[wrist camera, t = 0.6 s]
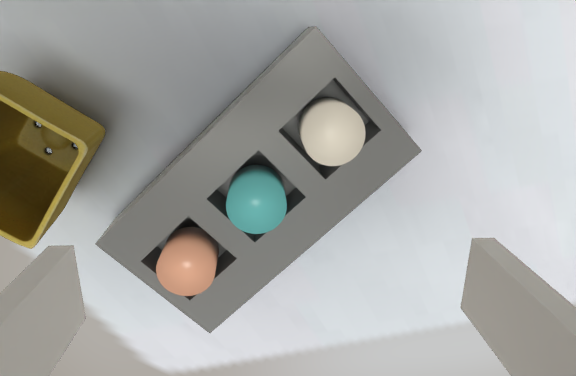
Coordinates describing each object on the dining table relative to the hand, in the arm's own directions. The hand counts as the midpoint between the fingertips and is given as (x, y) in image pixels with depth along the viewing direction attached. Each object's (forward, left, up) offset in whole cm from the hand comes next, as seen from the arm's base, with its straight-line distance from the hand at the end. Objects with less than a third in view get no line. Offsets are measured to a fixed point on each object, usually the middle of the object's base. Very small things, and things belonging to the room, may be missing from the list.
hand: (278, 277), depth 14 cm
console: (+2, -3, -23) cm, 23 cm away
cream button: (+2, +4, -20) cm, 20 cm away
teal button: (+2, -3, -20) cm, 20 cm away
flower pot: (-12, -12, -23) cm, 29 cm away
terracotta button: (+2, -11, -20) cm, 22 cm away
